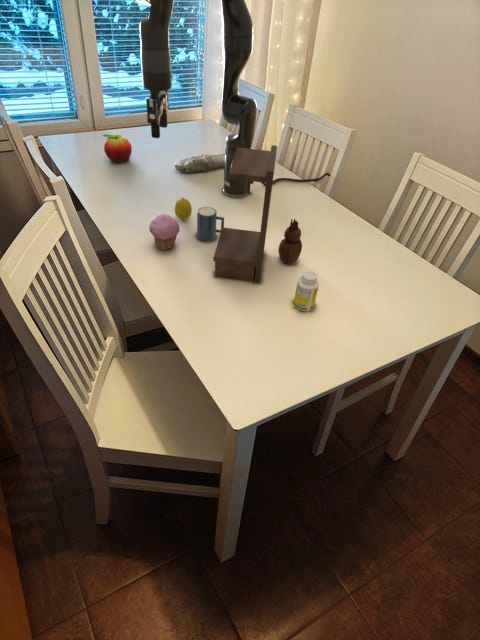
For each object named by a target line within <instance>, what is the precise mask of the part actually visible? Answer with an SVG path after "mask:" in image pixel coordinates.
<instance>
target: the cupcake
mask: <svg viewBox="0 0 480 640" xmlns="http://www.w3.org/2000/svg"><path fill="white" fill-rule="evenodd" d="M148 230H149V232H150V234H151V235H152V236H153V240H154V244H155V246H156V247H157V248H160V249H162V250H169V249H171V248H173V247H174V246H175V243H176V239H177V236H178V234H179V233H180V230H181V229H180V224H179V222H178V220H177V219H175V218H174V217H172V216H171V215H169V214H165V213H164V214H163V213H162V214H159V215H157V216H155V217H154V218H153V219H152V220H151V222H149V225H148Z"/></svg>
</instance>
